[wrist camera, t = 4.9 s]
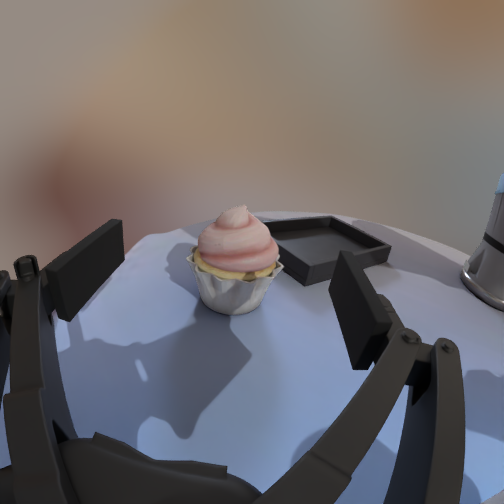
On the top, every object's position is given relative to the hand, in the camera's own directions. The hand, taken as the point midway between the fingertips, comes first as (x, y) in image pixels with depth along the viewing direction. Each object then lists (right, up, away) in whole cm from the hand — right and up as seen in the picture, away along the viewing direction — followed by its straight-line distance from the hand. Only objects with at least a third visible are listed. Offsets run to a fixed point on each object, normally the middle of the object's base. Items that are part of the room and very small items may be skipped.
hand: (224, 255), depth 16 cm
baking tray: (+12, 0, +27) cm, 30 cm away
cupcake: (-1, -5, +13) cm, 14 cm away
